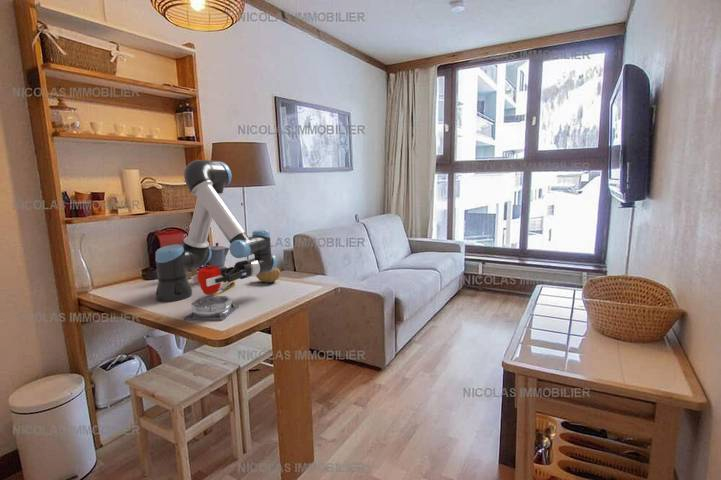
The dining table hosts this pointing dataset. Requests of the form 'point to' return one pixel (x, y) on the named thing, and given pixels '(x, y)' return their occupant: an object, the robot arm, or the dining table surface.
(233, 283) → the candy box
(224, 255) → the moka pot
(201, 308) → the rosette stand
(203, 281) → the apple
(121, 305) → the dining table surface
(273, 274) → the potato
